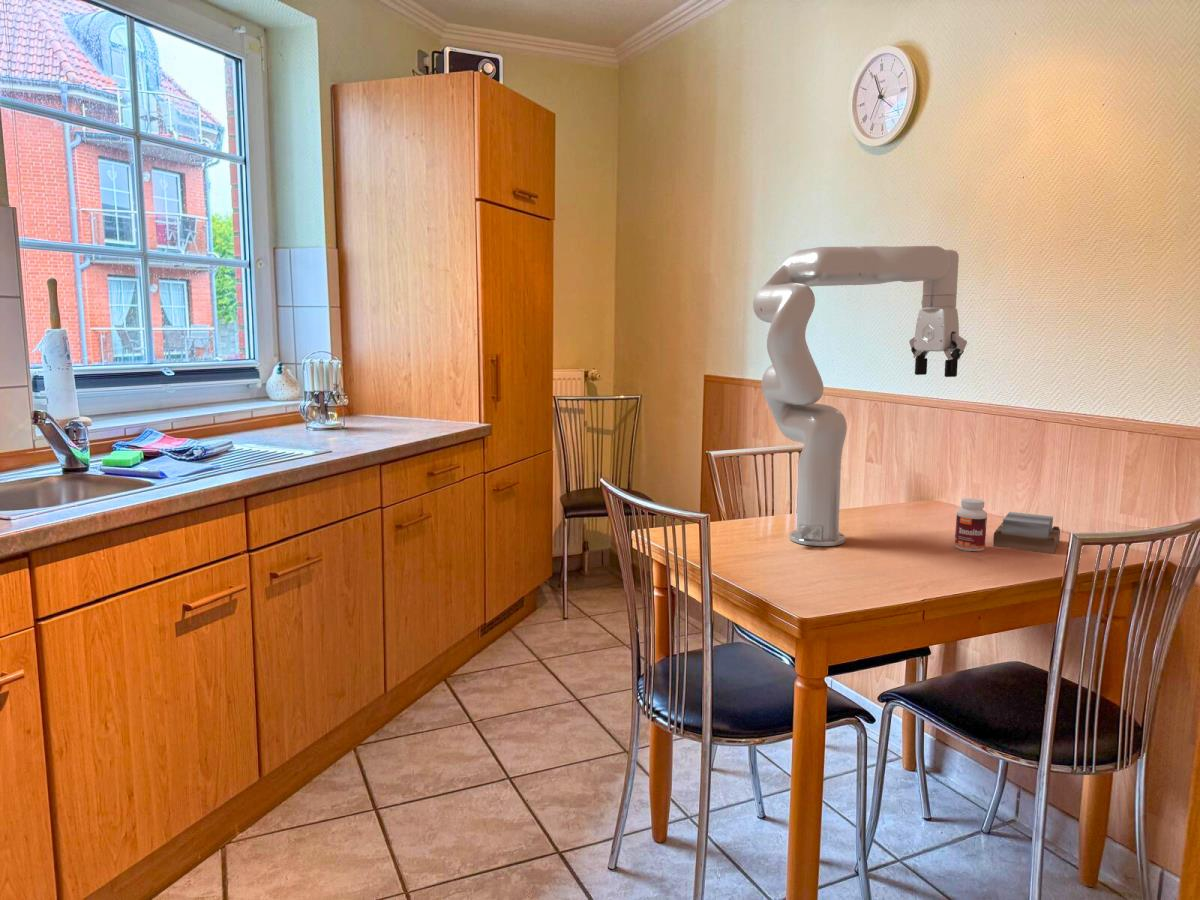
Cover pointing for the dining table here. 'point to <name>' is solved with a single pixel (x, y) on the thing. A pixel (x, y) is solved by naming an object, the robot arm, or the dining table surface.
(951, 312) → the robot arm
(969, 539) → the pill bottle
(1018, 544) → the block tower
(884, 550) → the dining table surface
